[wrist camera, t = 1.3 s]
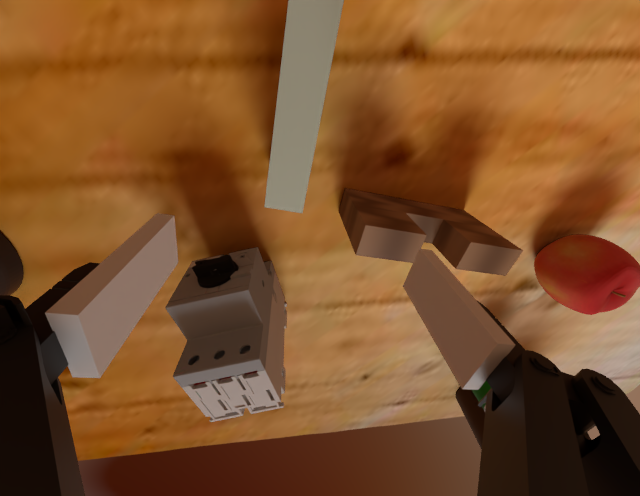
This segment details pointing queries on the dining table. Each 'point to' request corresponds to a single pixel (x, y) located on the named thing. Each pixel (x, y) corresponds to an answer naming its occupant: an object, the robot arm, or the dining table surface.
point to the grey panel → (300, 98)
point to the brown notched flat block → (423, 232)
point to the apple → (587, 273)
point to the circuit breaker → (231, 334)
